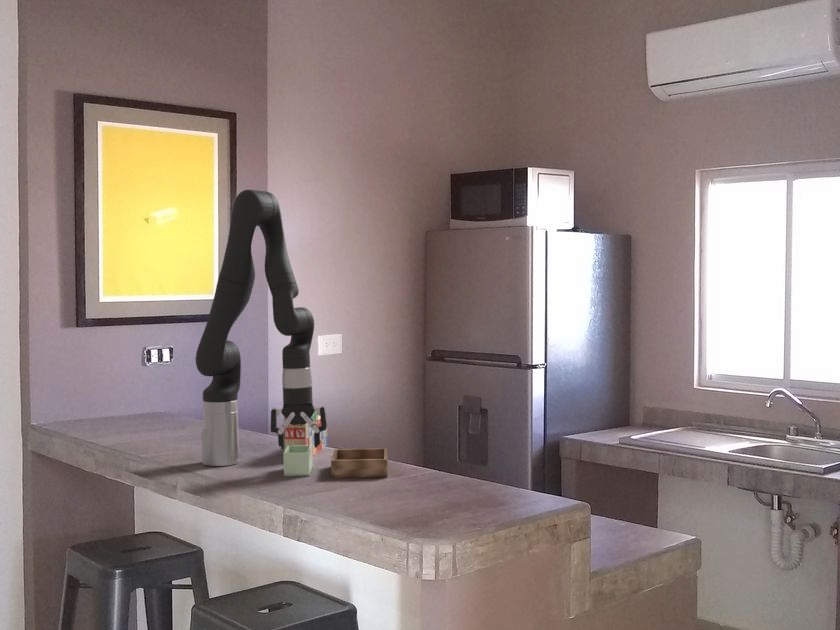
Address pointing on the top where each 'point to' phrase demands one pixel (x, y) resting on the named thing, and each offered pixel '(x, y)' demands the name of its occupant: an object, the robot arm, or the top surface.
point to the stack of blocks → (305, 435)
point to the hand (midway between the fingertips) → (299, 447)
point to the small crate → (297, 460)
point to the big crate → (359, 463)
